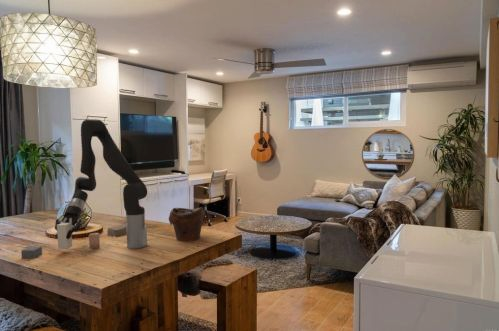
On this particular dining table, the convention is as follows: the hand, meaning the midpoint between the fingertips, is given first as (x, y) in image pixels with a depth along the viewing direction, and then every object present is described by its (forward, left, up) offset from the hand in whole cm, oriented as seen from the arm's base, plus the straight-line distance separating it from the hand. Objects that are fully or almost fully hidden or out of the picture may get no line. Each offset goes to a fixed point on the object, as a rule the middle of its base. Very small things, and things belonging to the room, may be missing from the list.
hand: (62, 238), depth 173 cm
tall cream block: (0, -2, -5) cm, 6 cm away
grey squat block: (+13, +5, -8) cm, 16 cm away
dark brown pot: (-55, -29, -8) cm, 62 cm away
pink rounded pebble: (-11, -10, -7) cm, 16 cm away
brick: (-13, -39, -8) cm, 42 cm away
